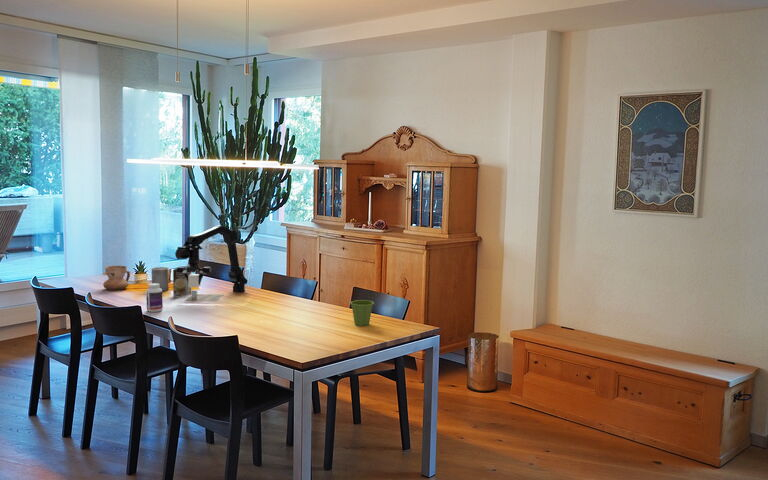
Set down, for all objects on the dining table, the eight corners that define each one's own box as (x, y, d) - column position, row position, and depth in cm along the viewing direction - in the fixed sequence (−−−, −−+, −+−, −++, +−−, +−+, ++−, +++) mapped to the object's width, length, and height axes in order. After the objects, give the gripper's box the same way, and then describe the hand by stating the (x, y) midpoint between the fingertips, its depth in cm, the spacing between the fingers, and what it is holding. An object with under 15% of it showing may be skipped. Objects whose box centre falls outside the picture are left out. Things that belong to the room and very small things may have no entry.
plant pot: (350, 321, 337) (351, 299, 336) (374, 322, 336) (374, 300, 335) (348, 327, 325) (349, 304, 324) (373, 327, 325) (373, 305, 323)
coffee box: (172, 296, 392) (172, 269, 390) (177, 294, 398) (176, 267, 396) (187, 297, 391) (187, 270, 389) (191, 295, 397) (191, 268, 395)
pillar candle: (162, 288, 417) (161, 264, 415) (171, 290, 411) (171, 266, 409) (148, 290, 409) (147, 266, 407) (158, 292, 403) (157, 268, 401)
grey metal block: (197, 298, 381) (197, 289, 381) (196, 299, 378) (196, 290, 378) (192, 298, 381) (192, 289, 380) (191, 299, 378) (191, 290, 378)
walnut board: (224, 296, 394) (224, 294, 394) (216, 303, 374) (216, 301, 374) (193, 296, 394) (193, 294, 394) (184, 303, 374) (184, 300, 374)
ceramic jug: (109, 292, 400) (109, 269, 398) (96, 289, 408) (96, 266, 407) (136, 289, 414) (136, 266, 412) (123, 286, 423) (123, 264, 421)
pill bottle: (166, 310, 355) (165, 283, 353) (155, 313, 347) (154, 286, 346) (154, 308, 358) (153, 282, 356) (143, 311, 351) (142, 284, 349)
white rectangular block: (200, 285, 382) (200, 274, 381) (198, 287, 376) (197, 275, 376) (190, 285, 382) (190, 274, 381) (188, 287, 376) (188, 275, 375)
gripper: (173, 259, 369) (173, 287, 371) (207, 259, 369) (207, 287, 371) (178, 256, 380) (179, 283, 382) (211, 257, 380) (212, 283, 382)
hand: (194, 284), depth 379 cm, fingers closed on white rectangular block, 5 cm apart
